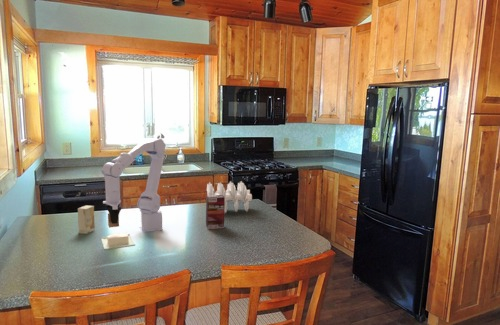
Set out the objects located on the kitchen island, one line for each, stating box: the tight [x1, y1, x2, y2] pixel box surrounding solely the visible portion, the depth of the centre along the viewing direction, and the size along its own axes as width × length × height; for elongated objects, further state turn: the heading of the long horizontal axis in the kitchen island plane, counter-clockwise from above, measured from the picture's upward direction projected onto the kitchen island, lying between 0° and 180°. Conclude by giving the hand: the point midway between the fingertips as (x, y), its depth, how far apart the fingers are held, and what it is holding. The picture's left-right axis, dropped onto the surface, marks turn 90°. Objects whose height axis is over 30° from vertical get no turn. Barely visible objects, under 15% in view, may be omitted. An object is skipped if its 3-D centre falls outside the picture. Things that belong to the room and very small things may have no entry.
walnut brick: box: [107, 213, 120, 229], centre depth 152 cm, size 4×4×5 cm
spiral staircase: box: [206, 180, 253, 214], centre depth 202 cm, size 18×18×25 cm
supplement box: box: [205, 195, 225, 230], centre depth 175 cm, size 9×5×16 cm, turn 107°
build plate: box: [100, 233, 136, 251], centre depth 153 cm, size 12×14×1 cm
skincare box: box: [77, 204, 96, 235], centre depth 165 cm, size 6×4×12 cm
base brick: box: [106, 232, 129, 246], centre depth 152 cm, size 8×4×3 cm, turn 118°
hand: (113, 221), depth 152 cm, fingers closed on walnut brick, 4 cm apart
